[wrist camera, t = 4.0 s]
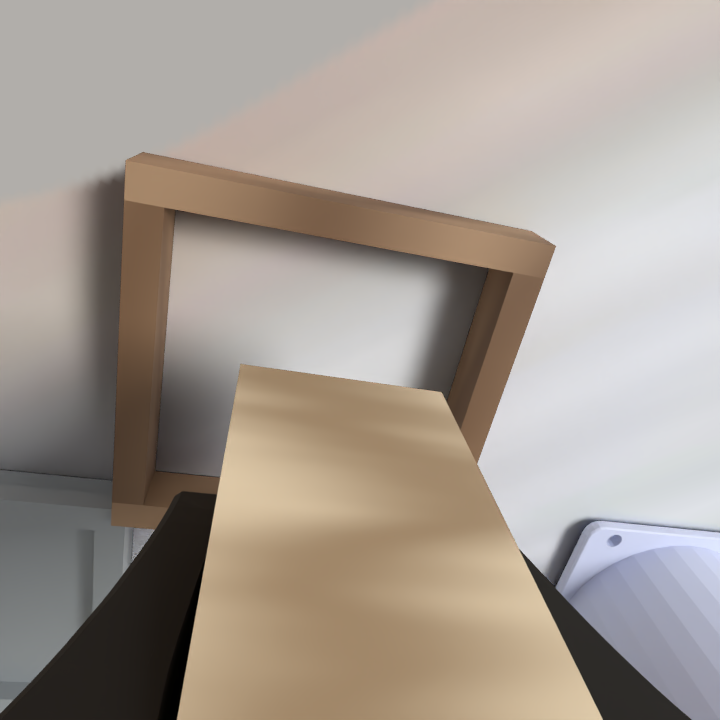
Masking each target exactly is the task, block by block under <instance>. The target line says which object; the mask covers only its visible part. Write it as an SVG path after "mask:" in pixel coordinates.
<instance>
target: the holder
mask: <svg viewBox="0 0 720 720" xmlns="http://www.w3.org/2000/svg"><path fill="white" fill-rule="evenodd" d="M175 210H180V211H186V212H191V213H196V214H202V215H207V216H212V217H218V218H223V219H228V220H234V221H239V222H245V223H250V224H255V225H261V226H266V227H271V228H277V229H282V230H287V231H293V232H298V233H303V234H309V235H314V236H319V237H325V238H330V239H335V240H341V241H346V242H352V243H357V244H362V245H368V246H373V247H378V248H384V249H389V250H394V251H400V252H405V253H410V254H416V255H421V256H426V257H432V258H437V259H443V260H448V261H453V262H459V263H464V264H469V265H475V266H480V267H485V268H489V271H488V274H487V277H486V280H485V283H484V286H483V289H482V293H481V296H480V299H479V302H478V305H477V308H476V311H475V315H474V318H473V321H472V324H471V327H470V330H469V333H468V337H467V340H466V343H465V346H464V349H463V352H462V355H461V359H460V362H459V365H458V368H457V371H456V374H455V377H454V381H453V384H452V387H451V390H450V393H449V396H448V399H447V404H448V406H449V408H450V410H451V412H452V414H453V416H454V418H455V420H456V422H457V424H458V426H459V429H460V431H461V433H462V435H463V437H464V439H465V441H466V443H467V445H468V447H469V449H470V451H471V453H472V455H473V457H474V459H475V461H476V463H478V460H479V457H480V454H481V452H482V449H483V446H484V443H485V441H486V438H487V435H488V432H489V429H490V427H491V424H492V421H493V418H494V416H495V413H496V410H497V407H498V405H499V402H500V399H501V396H502V394H503V391H504V388H505V385H506V383H507V380H508V377H509V374H510V372H511V369H512V366H513V363H514V360H515V358H516V355H517V352H518V349H519V347H520V344H521V341H522V338H523V336H524V333H525V330H526V327H527V325H528V322H529V319H530V316H531V314H532V311H533V308H534V305H535V303H536V300H537V297H538V294H539V291H540V289H541V286H542V283H543V280H544V278H545V275H546V272H547V269H548V267H549V264H550V261H551V258H552V256H553V253H554V250H555V247H556V246H555V245H553V244H552V243H550V242H548V241H547V240H545V239H543V238H542V237H540V236H538V235H537V234H535V233H534V232H532V231H528V230H523V229H518V228H513V227H508V226H503V225H498V224H494V223H489V222H484V221H479V220H474V219H469V218H464V217H459V216H454V215H449V214H444V213H440V212H435V211H430V210H425V209H420V208H415V207H410V206H405V205H400V204H395V203H390V202H385V201H381V200H376V199H371V198H366V197H361V196H356V195H351V194H346V193H341V192H336V191H331V190H326V189H322V188H317V187H312V186H307V185H302V184H297V183H292V182H287V181H282V180H277V179H272V178H267V177H263V176H258V175H253V174H248V173H243V172H238V171H233V170H228V169H223V168H218V167H213V166H208V165H204V164H199V163H194V162H189V161H184V160H179V159H174V158H169V157H164V156H159V155H154V154H149V153H145V152H142V153H140V154H138V155H136V156H134V157H132V158H129V159H127V160H126V165H125V190H124V215H123V239H122V264H121V289H120V313H119V338H118V363H117V388H116V412H115V437H114V462H113V487H112V511H111V526H121V527H133V528H145V529H156V528H157V526H158V524H159V523H160V521H161V520H162V518H163V516H164V515H165V513H166V511H167V510H168V508H169V506H170V504H171V502H172V500H173V498H174V496H175V495H177V494H179V493H180V492H182V491H187V492H197V493H208V494H217V493H218V488H219V482H220V478H218V477H208V476H199V475H189V474H179V473H169V472H159V471H155V467H156V454H157V441H158V428H159V415H160V403H161V390H162V377H163V364H164V351H165V338H166V325H167V313H168V300H169V287H170V274H171V261H172V248H173V236H174V223H175Z"/></svg>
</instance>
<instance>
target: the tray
mask: <svg viewBox="0 0 720 720" xmlns="http://www.w3.org/2000/svg"><path fill="white" fill-rule="evenodd" d="M112 487H113V481H110V480H99V479H89V478H78V477H68V476H58V475H47V474H37V473H27V472H16V471H6V470H0V713H1V712H2V711H3V710H4V709H5V708H6V707H7V706H8V705H9V704H10V703H11V702H12V701H13V700H14V699H15V698H16V697H17V696H18V695H19V694H20V693H21V692H22V691H23V690H24V689H25V688H26V686H27V685H28V684H29V683H30V682H31V681H32V680H33V679H34V678H35V677H36V676H37V675H38V674H39V673H40V672H41V671H42V669H43V668H44V667H45V666H46V665H47V664H48V663H49V662H50V661H51V660H52V659H53V658H54V656H55V655H56V654H57V653H58V652H59V651H60V650H61V649H62V648H63V646H64V645H65V644H66V643H67V642H68V641H69V639H70V638H71V637H72V636H73V635H74V634H75V632H76V631H77V630H78V629H79V628H80V627H81V625H82V624H83V623H84V622H85V621H86V620H87V618H88V617H89V616H90V615H91V614H92V613H93V611H94V610H95V609H96V608H97V607H98V605H99V604H100V603H101V602H102V601H103V599H104V598H105V597H106V596H107V595H108V593H109V592H110V591H111V589H112V588H113V587H114V586H115V584H116V583H117V582H118V580H119V579H120V578H121V576H122V575H123V574H124V572H125V571H126V570H127V568H128V567H129V566H130V564H131V562H132V546H133V530H134V528H133V527H121V526H111V511H112Z"/></svg>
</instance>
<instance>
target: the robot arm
mask: <svg viewBox="0 0 720 720" xmlns="http://www.w3.org/2000/svg"><path fill="white" fill-rule="evenodd" d="M216 499H217V494H208V493H197V492H187V491H182V492H180V493H179V494H177V495H175V496H174V498H173V500H172V502H171V504H170V506H169V508H168V510H167V511H166V513H165V515H164V516H163V518H162V520H161V521H160V523H159V524H158V526H157V528H156V529H155V531H154V532H153V534H152V535H151V537H150V538H149V539H148V541H147V542H146V544H145V545H144V547H143V548H142V550H141V551H140V552H139V554H138V555H137V557H136V558H135V559H134V561H133V562H132V563H131V564H130V566H129V567H128V568H127V570H126V571H125V572H124V574H123V575H122V576H121V578H120V579H119V580H118V582H117V583H116V584H115V586H114V587H113V588H112V589H111V591H110V592H109V593H108V595H107V596H106V597H105V598H104V599H103V601H102V602H101V603H100V604H99V605H98V607H97V608H96V609H95V610H94V611H93V613H92V614H91V615H90V616H89V617H88V618H87V620H86V621H85V622H84V623H83V624H82V625H81V627H80V628H79V629H78V630H77V631H76V632H75V634H74V635H73V636H72V637H71V638H70V639H69V641H68V642H67V643H66V644H65V645H64V646H63V648H62V649H61V650H60V651H59V652H58V653H57V654H56V655H55V656H54V658H53V659H52V660H51V661H50V662H49V663H48V664H47V665H46V666H45V667H44V668H43V669H42V671H41V672H40V673H39V674H38V675H37V676H36V677H35V678H34V679H33V680H32V681H31V682H30V683H29V684H28V685H27V686H26V688H25V689H24V690H23V691H22V692H21V693H20V694H19V695H18V696H17V697H16V698H15V699H14V700H13V701H12V702H11V703H10V704H9V705H8V706H7V707H6V708H5V709H4V710H3V711H2V712H1V713H0V720H177V717H178V711H179V705H180V700H181V694H182V689H183V683H184V677H185V672H186V666H187V661H188V655H189V650H190V644H191V638H192V633H193V627H194V622H195V616H196V610H197V605H198V599H199V594H200V588H201V583H202V577H203V571H204V566H205V560H206V555H207V549H208V543H209V538H210V532H211V527H212V521H213V516H214V510H215V504H216ZM611 536H612V537H611ZM519 550H520V549H519ZM520 552H521V554H522V556H523V558H524V560H525V562H526V565H527V567H528V569H529V571H530V573H531V575H532V577H533V579H534V581H535V583H536V585H537V587H538V589H539V591H540V593H541V595H542V597H543V599H544V601H545V603H546V605H547V607H548V609H549V611H550V613H551V615H552V617H553V619H554V621H555V623H556V625H557V627H558V629H559V632H560V634H561V636H562V638H563V640H564V642H565V644H566V646H567V648H568V650H569V652H570V654H571V656H572V658H573V660H574V662H575V664H576V666H577V668H578V670H579V672H580V674H581V676H582V678H583V680H584V682H585V684H586V686H587V688H588V690H589V692H590V694H591V696H592V698H593V701H594V703H595V705H596V707H597V709H598V711H599V713H600V715H601V717H602V719H603V720H720V533H718V532H708V531H698V530H688V529H678V528H668V527H658V526H648V525H638V524H628V523H618V522H608V521H595V522H592V523H590V524H589V525H587V526H586V527H585V529H584V530H583V532H582V534H581V536H580V538H579V540H578V542H577V544H576V546H575V548H574V550H573V552H572V555H571V557H570V559H569V561H568V563H567V565H566V567H565V569H564V571H563V573H562V575H561V577H560V579H559V581H558V583H557V585H556V588H555V587H554V586H553V585H552V584H551V583H550V582H549V581H548V579H547V578H546V577H545V576H544V575H543V574H542V573H541V572H540V571H539V570H538V569H537V568H536V567H535V565H534V564H533V563H532V562H531V561H530V560H529V559H528V558H527V557H526V556H525V555H524V554H523V553H522V551H521V550H520Z"/></svg>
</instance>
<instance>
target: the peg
mask: <svg viewBox="0 0 720 720" xmlns="http://www.w3.org/2000/svg"><path fill="white" fill-rule="evenodd" d="M177 720H603V719H602V717H601V715H600V713H599V711H598V709H597V707H596V705H595V703H594V701H593V698H592V696H591V694H590V692H589V690H588V688H587V686H586V684H585V682H584V680H583V678H582V676H581V674H580V672H579V670H578V668H577V666H576V664H575V662H574V660H573V658H572V656H571V654H570V652H569V650H568V648H567V646H566V644H565V642H564V640H563V638H562V636H561V634H560V632H559V629H558V627H557V625H556V623H555V621H554V619H553V617H552V615H551V613H550V611H549V609H548V607H547V605H546V603H545V601H544V599H543V597H542V595H541V593H540V591H539V589H538V587H537V585H536V583H535V581H534V579H533V577H532V575H531V573H530V571H529V569H528V567H527V565H526V562H525V560H524V558H523V556H522V554H521V552H520V550H519V548H518V546H517V544H516V542H515V540H514V538H513V536H512V534H511V532H510V530H509V528H508V526H507V524H506V522H505V520H504V518H503V516H502V514H501V512H500V510H499V508H498V506H497V504H496V502H495V500H494V498H493V496H492V493H491V491H490V489H489V487H488V485H487V483H486V481H485V479H484V477H483V475H482V473H481V471H480V469H479V467H478V465H477V463H476V461H475V459H474V457H473V455H472V453H471V451H470V449H469V447H468V445H467V443H466V441H465V439H464V437H463V435H462V433H461V431H460V429H459V426H458V424H457V422H456V420H455V418H454V416H453V414H452V412H451V410H450V408H449V406H448V404H447V402H446V400H445V398H444V396H443V394H442V392H437V391H430V390H423V389H416V388H409V387H401V386H394V385H387V384H380V383H373V382H366V381H358V380H351V379H344V378H337V377H330V376H323V375H315V374H308V373H301V372H294V371H287V370H280V369H272V368H265V367H258V366H251V365H244V364H241V365H240V370H239V376H238V381H237V387H236V393H235V398H234V404H233V409H232V415H231V421H230V426H229V432H228V437H227V443H226V449H225V454H224V460H223V465H222V471H221V476H220V482H219V488H218V493H217V499H216V504H215V510H214V516H213V521H212V527H211V532H210V538H209V543H208V549H207V555H206V560H205V566H204V571H203V577H202V583H201V588H200V594H199V599H198V605H197V610H196V616H195V622H194V627H193V633H192V638H191V644H190V650H189V655H188V661H187V666H186V672H185V677H184V683H183V689H182V694H181V700H180V705H179V711H178V717H177Z"/></svg>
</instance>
